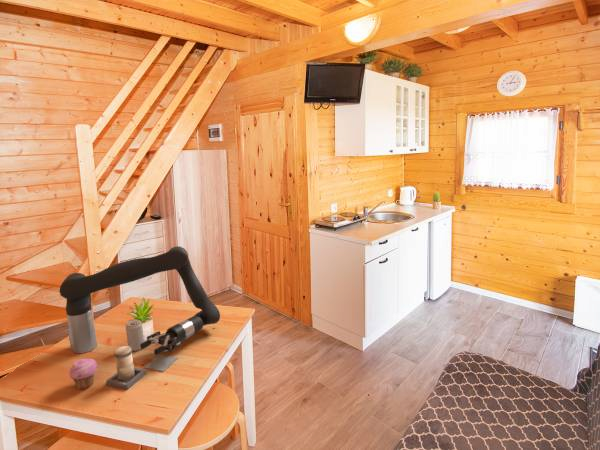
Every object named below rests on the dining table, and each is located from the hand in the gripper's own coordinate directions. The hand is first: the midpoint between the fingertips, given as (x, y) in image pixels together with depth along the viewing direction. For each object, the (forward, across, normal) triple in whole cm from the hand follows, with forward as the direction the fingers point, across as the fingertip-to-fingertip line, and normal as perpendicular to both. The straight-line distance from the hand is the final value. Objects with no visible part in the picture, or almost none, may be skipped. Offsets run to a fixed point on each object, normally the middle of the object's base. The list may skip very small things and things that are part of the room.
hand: (147, 349), depth 144 cm
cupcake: (+20, -10, +7) cm, 23 cm away
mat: (-3, +3, +7) cm, 8 cm away
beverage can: (-6, -16, +7) cm, 19 cm away
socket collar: (+10, 0, +7) cm, 12 cm away
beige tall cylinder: (+10, 0, +7) cm, 12 cm away
